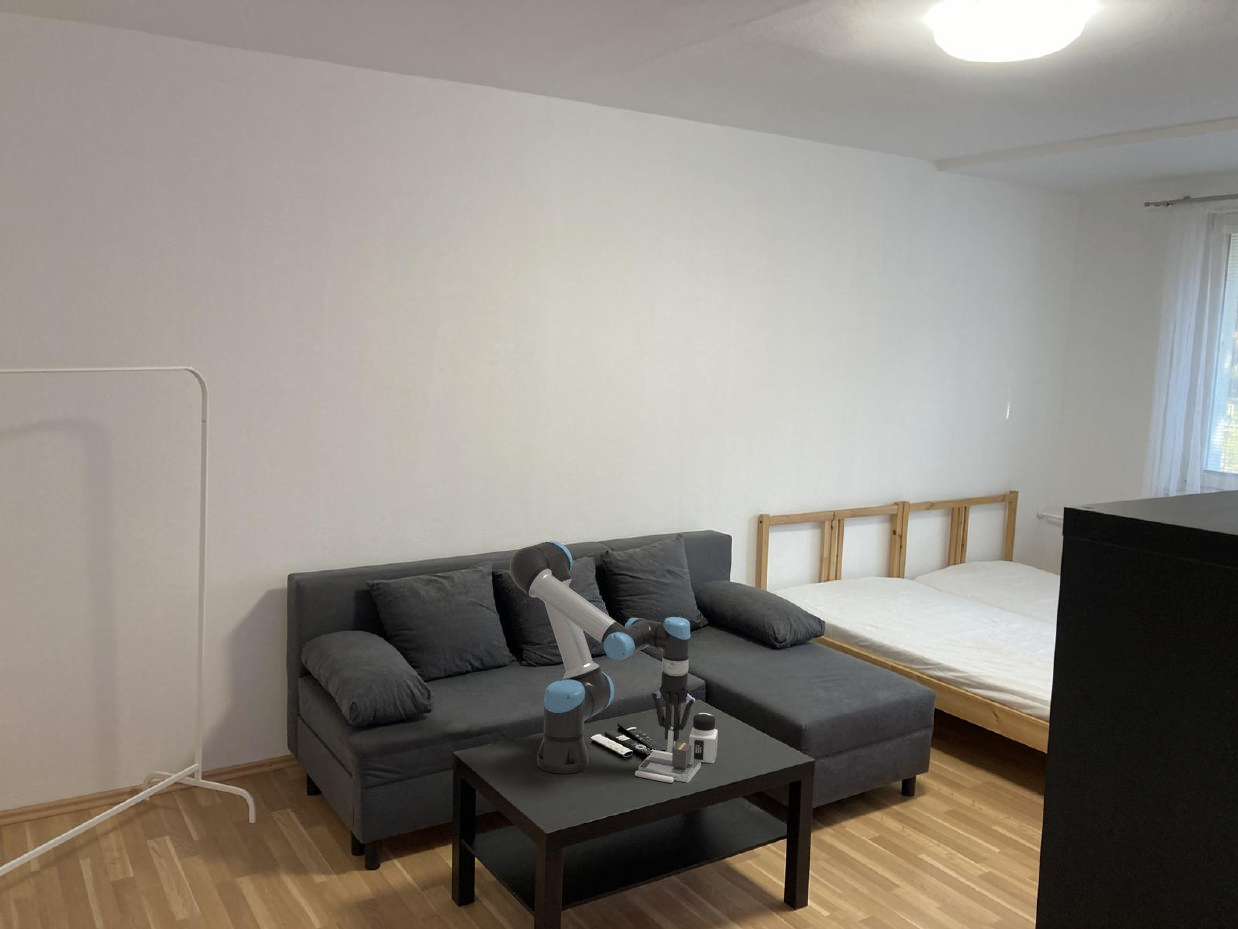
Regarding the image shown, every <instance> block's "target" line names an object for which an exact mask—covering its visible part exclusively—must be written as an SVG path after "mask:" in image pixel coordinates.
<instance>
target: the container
mask: <svg viewBox="0 0 1238 929" xmlns="http://www.w3.org/2000/svg"><path fill="white" fill-rule="evenodd" d="M718 733H719V730H718V729H716V717H715V715H712V714H710V713H705V712H699V713H696V714H694V715H693V719H692V728H691V730H690V734H689V735H688V736H689V738H688V744H689V745H691V759H697V760H701V763H708V764H715V761H716V758H717V754H718V736H719V735H718Z"/></svg>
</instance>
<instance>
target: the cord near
mask: <svg viewBox="0 0 1238 929" xmlns="http://www.w3.org/2000/svg"><path fill="white" fill-rule="evenodd" d="M634 775H635V776H636V777H638V778H643V779H648V780H654V781H660V782H665V783H670V784H672V783H674V781H675V780H674V779H673V777H669V776H664V775H658V774H653V773H648V772H643V771H639V770H635V772H634Z"/></svg>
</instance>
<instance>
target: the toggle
mask: <svg viewBox="0 0 1238 929" xmlns="http://www.w3.org/2000/svg"><path fill="white" fill-rule="evenodd" d="M690 762H691V745H689V743H686V742H677V743H675V747H674V748H673V754H672V766H678V767H683V768H686V767H687V765H688V764H689V763H690Z"/></svg>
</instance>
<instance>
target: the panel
mask: <svg viewBox="0 0 1238 929" xmlns="http://www.w3.org/2000/svg"><path fill="white" fill-rule="evenodd" d="M701 766H702V762H701V760H697V759H691V762H690V763H689V764H688V765H687V767H686V768H683V767H678V766H672V755H669V754H664V753H658V752H652V753H651V754H650V755H648V756H647V757H646V758H645V759H644V760H643V761H642V763H640V764H639V766H638V771H643V772H648V773H653V774H658V775H664V776H669V777H673V779H674V781H677V782H683V783H690V781H691V780H693V777H694V776H696V773H697V772H698V771H699V770H700V768H701Z"/></svg>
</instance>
